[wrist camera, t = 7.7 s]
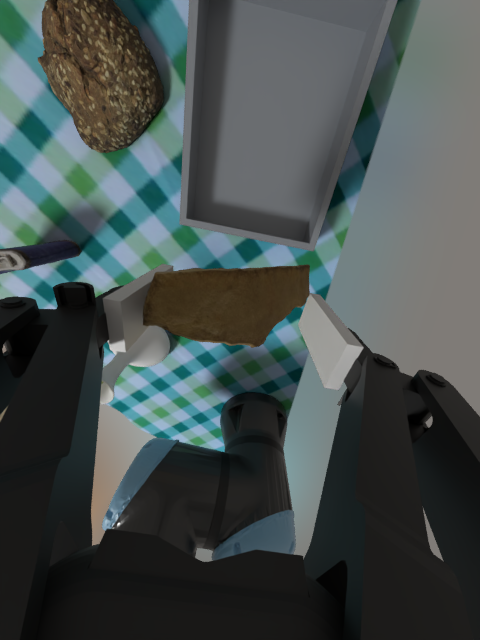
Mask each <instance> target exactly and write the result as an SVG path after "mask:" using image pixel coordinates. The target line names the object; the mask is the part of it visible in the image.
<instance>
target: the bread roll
mask: <svg viewBox="0 0 480 640" xmlns="http://www.w3.org/2000/svg"><path fill="white" fill-rule="evenodd" d="M42 32H43V37H44V39H43V44H44V48H45V51H43V54H44V55H43V56H42V57H39V58H38V61H39V63H40V64H41V66H42V67H43V70H44V72H45V73H46V75H47V78H48V82H49V83H50V85H51V88H52V90H53V92H54V94H55V95H56V96H57V97H58V99H59V100H60V101H61V102H62V103H63V105H64V106H65V108H67V109H68V110H69V112H70V114H71V115H72V117H73V120H74V124H75V126H76V128H77V131H78V133H79V135H80V137H81V138H82V140H83V141H84V142H85V144H87V145H88V146H89V147H90V148H91V149H94V150H96V151H97V152H100V153H103V152H105V153H108V152H112V151H117V150H119V149H123V148H127V147H128V146H129V144H131V143H132V142H133V141H134V140H135V139H136V138H138V137H139V136H140V134H141V133H142V131H143V130H144V129H145V128H146V126H147V124H148V123H149V122H150V121H151V120H152V118H153V117H154V116H155V115H156V113H157V112H158V111H159V110H160V108H161V106H162V103H163V99H164V93H163V85H162V83H161V80H160V78H159V75H158V71H157V68H156V65H155V62H154V60H153V58H152V56H151V54H150V52H149V49H148V48H146V46H145V43H144V41H142V39H141V37H140V35H139V31H138V28H137V27H136V26H135V25H134V26H132V25H131V23H130V22H129V21H128V19H127V17H126V16H125V15H124V14H123V13H122V11H121V9H120V8H119V7H118V6H117V5H116V3H115V2H114V1H113V0H47V1H46V2H45V7H44V9H43V11H42Z"/></svg>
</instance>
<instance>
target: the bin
mask: <svg viewBox="0 0 480 640" xmlns="http://www.w3.org/2000/svg"><path fill="white" fill-rule="evenodd" d="M396 3H397V0H189V17H188V40H187V63H186V87H185V110H184V133H183V157H182V180H181V203H180V224H181V225H186V226H191V227H196V228H201V229H206V230H211V231H216V232H221V233H226V234H231V235H236V236H241V237H246V238H251V239H256V240H261V241H265V242H270V243H275V244H280V245H285V246H290V247H295V248H300V249H305V250H310V251H314V249H315V246H316V243H317V240H318V237H319V234H320V231H321V228H322V225H323V222H324V219H325V216H326V213H327V210H328V207H329V204H330V201H331V198H332V195H333V192H334V189H335V186H336V183H337V180H338V177H339V174H340V171H341V168H342V165H343V162H344V159H345V156H346V153H347V150H348V147H349V144H350V141H351V138H352V135H353V132H354V129H355V126H356V123H357V120H358V117H359V114H360V111H361V108H362V105H363V102H364V99H365V96H366V93H367V90H368V87H369V84H370V81H371V78H372V75H373V72H374V69H375V66H376V63H377V60H378V57H379V54H380V51H381V48H382V45H383V42H384V39H385V36H386V33H387V30H388V27H389V24H390V21H391V18H392V15H393V12H394V9H395V6H396Z"/></svg>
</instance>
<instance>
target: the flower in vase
mask: <svg viewBox="0 0 480 640" xmlns="http://www.w3.org/2000/svg"><path fill="white" fill-rule="evenodd" d="M108 343H109V340H108ZM169 350H170V341H169V338H168V335H167V333H166V331H165V330H164V329H163V328H161V327H158V326H156V325H155V326H149V327H148V328H147V329H146V331H145V332H144V333H143V334H142V335H141V336H140V337H139V338H138V339H137V341H136V342H135V343H134V344H133V345H132V346H131V347H130V348H129V349H128V351H127V352H120V351H114V350H112V351H113V353H114V354H115V355H116V356H115V357H114V358H113V360H112V361H111V362H110V363H109V364H107V365H106V366H105V367H104V368H103V370H102V382H101V394H100V404H106V403H109V402H111V401H112V400H113V398H114V385H115V382H116V380H117V378H118V377H119V375H120V374H121V372H122V371H123V370H124V368H125V367H126V366H127V365H128V364H130V365H133V366H139V367H149V366H153V365H156V364H158V363H160V362H161V361H163V360H164V359H165V358H166V357H167V355H168V353H169ZM6 409H7V408H6ZM6 409H5V410H4V411H3V412H2V414H1V415H0V421H1V419H2V417H3V415H4V413H5V411H6Z"/></svg>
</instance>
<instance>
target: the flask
mask: <svg viewBox="0 0 480 640" xmlns="http://www.w3.org/2000/svg"><path fill="white" fill-rule="evenodd" d="M80 252H81V250H80V248H79V246H78V245H77V244H76V243H75V242H73V241H67V240H64V241H53V242H49V243H44V244H37V245H30V246H22V247H14V248H7V249H0V274H2V273H7V272H11V271H15V270H24V269H27V268H31V267H34V266H39V265H43V264H47V263H53V262H56V261H60V260H64V259H68V258H73V257H76V256H79V255H80Z"/></svg>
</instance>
